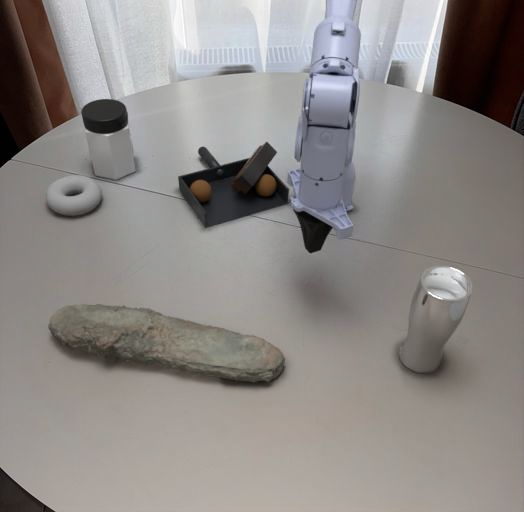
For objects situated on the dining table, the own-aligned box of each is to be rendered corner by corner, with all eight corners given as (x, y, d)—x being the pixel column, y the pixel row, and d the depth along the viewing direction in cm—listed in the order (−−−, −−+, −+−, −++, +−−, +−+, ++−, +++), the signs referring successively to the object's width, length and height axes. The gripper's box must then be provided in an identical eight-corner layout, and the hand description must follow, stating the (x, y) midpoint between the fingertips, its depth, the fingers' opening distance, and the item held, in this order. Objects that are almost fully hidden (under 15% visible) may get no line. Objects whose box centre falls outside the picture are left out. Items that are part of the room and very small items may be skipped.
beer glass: (446, 346, 86) (477, 271, 75) (440, 381, 82) (471, 307, 71) (400, 334, 88) (423, 258, 76) (391, 368, 84) (414, 293, 72)
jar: (137, 178, 112) (128, 119, 103) (95, 182, 111) (81, 123, 102) (134, 153, 118) (124, 95, 109) (93, 157, 117) (80, 99, 108)
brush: (278, 152, 109) (260, 167, 114) (266, 140, 108) (249, 155, 113) (253, 187, 104) (236, 200, 109) (240, 174, 103) (224, 188, 108)
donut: (39, 215, 105) (91, 222, 103) (33, 199, 102) (86, 206, 101) (62, 184, 111) (111, 190, 110) (57, 168, 108) (108, 174, 107)
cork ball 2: (280, 179, 110) (279, 179, 106) (271, 199, 111) (271, 200, 107) (260, 170, 109) (259, 170, 106) (252, 190, 111) (251, 191, 107)
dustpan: (288, 203, 108) (289, 189, 106) (205, 227, 103) (204, 213, 101) (238, 147, 120) (238, 133, 118) (162, 166, 115) (160, 152, 113)
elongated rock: (275, 405, 80) (287, 354, 87) (279, 381, 77) (292, 330, 83) (37, 352, 83) (67, 306, 90) (29, 326, 79) (61, 280, 86)
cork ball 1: (212, 202, 105) (206, 180, 104) (192, 207, 106) (185, 185, 104) (215, 196, 109) (209, 175, 107) (195, 201, 110) (188, 180, 108)
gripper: (269, 148, 79) (267, 228, 89) (324, 206, 71) (314, 287, 81) (314, 136, 81) (306, 216, 91) (372, 192, 73) (356, 272, 83)
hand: (313, 249), depth 86 cm, fingers closed
